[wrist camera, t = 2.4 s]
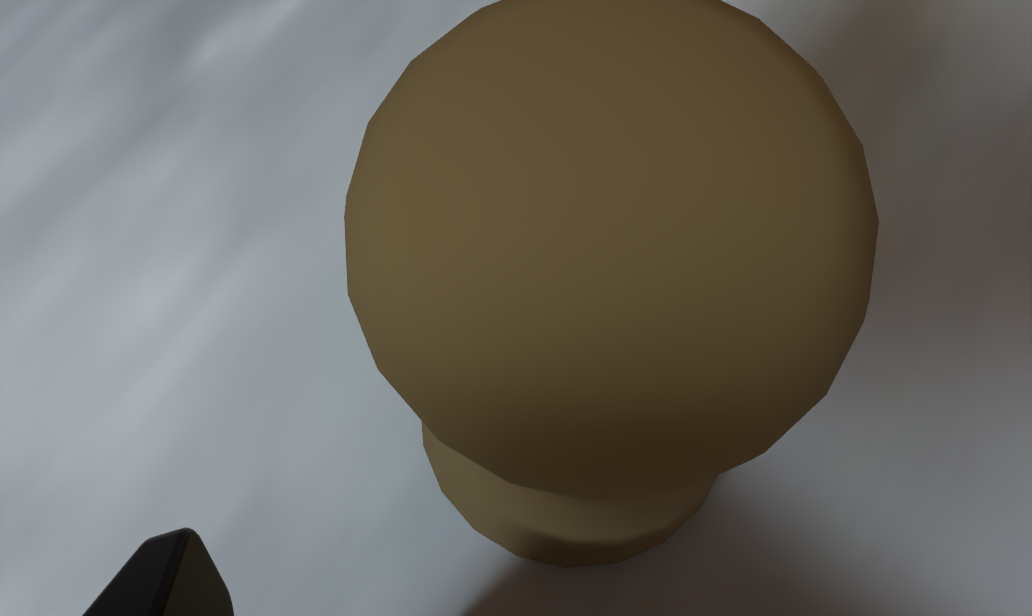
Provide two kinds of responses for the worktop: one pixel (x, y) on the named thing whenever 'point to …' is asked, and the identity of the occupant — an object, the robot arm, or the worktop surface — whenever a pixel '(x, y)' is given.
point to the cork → (606, 261)
